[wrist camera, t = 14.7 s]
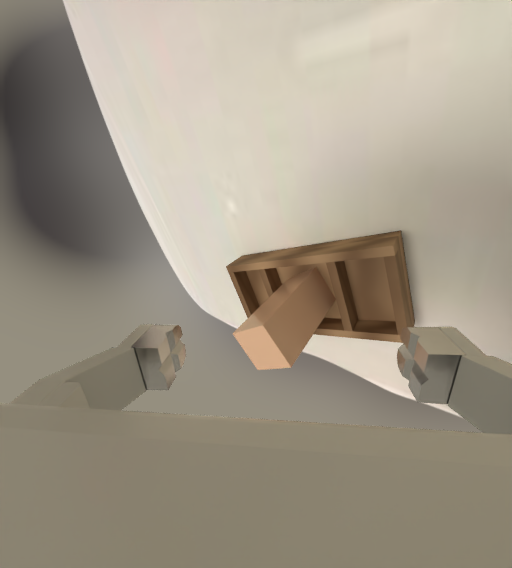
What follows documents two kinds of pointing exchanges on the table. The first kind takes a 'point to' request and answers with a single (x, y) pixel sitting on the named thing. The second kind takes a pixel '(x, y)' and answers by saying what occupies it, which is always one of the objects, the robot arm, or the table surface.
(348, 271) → the brown wooden divided tray
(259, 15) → the table surface
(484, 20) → the table surface
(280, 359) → the peach upright block
